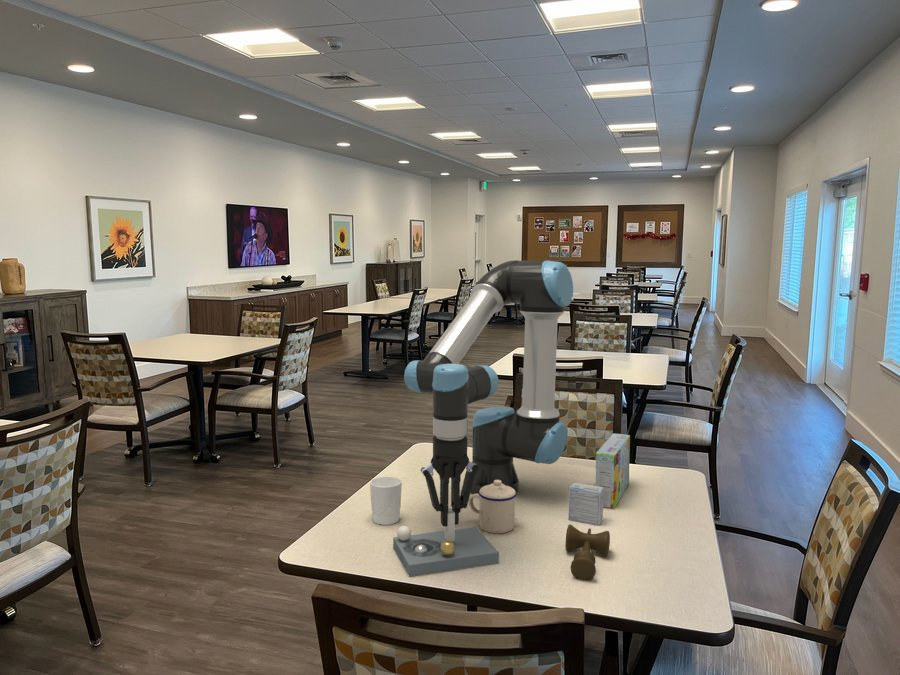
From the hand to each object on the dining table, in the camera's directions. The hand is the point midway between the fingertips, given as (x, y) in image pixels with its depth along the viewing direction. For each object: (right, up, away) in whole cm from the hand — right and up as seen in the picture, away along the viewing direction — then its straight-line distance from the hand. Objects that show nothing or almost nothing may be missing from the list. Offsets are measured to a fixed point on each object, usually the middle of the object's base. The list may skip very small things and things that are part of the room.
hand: (449, 538), depth 145 cm
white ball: (-10, +1, +2) cm, 10 cm away
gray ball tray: (-1, -4, 0) cm, 4 cm away
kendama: (+30, -5, -1) cm, 30 cm away
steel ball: (-6, -2, -2) cm, 7 cm away
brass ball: (0, 0, -6) cm, 6 cm away
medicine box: (+34, -2, +20) cm, 40 cm away
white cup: (-16, -1, +19) cm, 25 cm away
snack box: (+45, 0, +37) cm, 59 cm away
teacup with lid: (+10, -2, +16) cm, 19 cm away
